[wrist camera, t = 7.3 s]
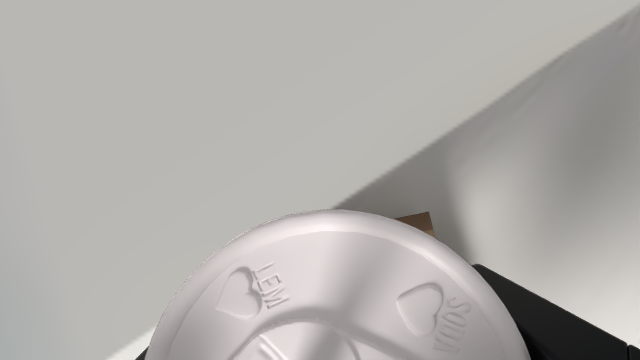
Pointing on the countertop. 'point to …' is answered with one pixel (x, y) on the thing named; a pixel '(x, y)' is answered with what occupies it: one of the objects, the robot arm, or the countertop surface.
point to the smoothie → (336, 297)
